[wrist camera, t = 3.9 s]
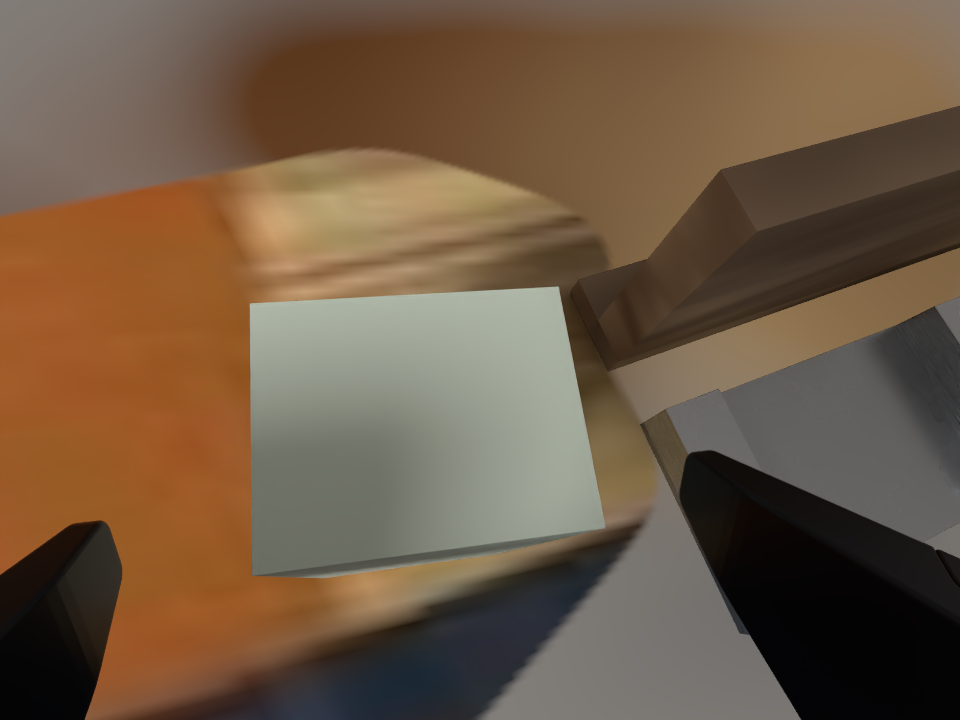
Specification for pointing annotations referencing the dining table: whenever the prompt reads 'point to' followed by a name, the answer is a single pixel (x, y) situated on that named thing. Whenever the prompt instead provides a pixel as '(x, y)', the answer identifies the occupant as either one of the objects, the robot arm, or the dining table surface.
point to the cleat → (843, 427)
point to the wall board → (784, 237)
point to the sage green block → (414, 431)
